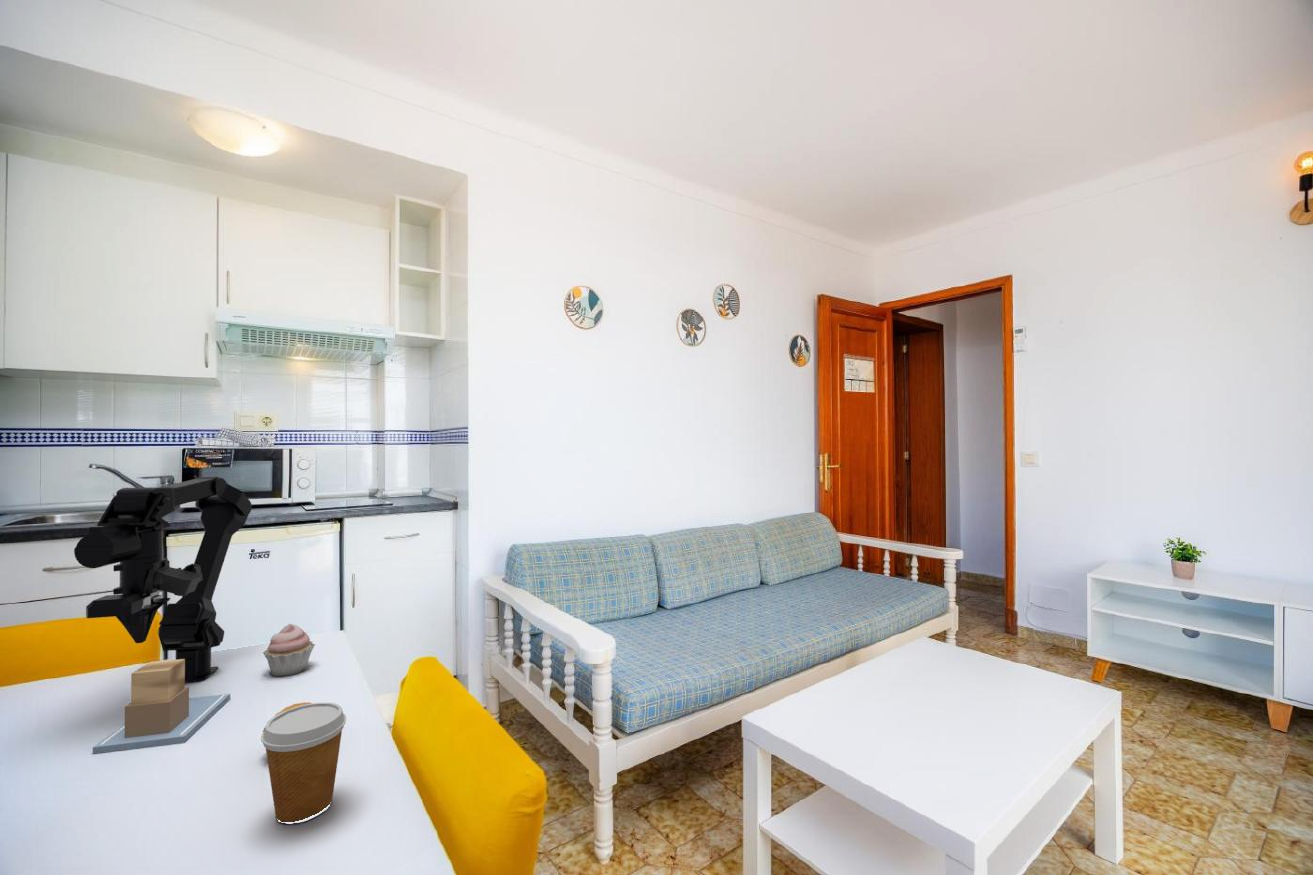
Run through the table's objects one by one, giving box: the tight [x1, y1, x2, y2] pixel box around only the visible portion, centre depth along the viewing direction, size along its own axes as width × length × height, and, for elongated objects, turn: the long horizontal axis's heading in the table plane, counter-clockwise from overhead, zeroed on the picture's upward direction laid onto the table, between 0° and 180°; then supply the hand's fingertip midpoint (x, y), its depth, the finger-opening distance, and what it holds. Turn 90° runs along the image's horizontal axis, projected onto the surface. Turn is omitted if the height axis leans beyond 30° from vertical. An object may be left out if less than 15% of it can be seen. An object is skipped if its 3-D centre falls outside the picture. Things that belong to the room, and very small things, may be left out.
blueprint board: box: [92, 686, 231, 755], centre depth 96 cm, size 16×12×6 cm
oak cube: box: [130, 659, 186, 705], centre depth 94 cm, size 5×5×5 cm
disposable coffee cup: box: [260, 702, 347, 822], centre depth 74 cm, size 10×10×12 cm
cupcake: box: [262, 623, 316, 677], centre depth 119 cm, size 9×9×10 cm
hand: (140, 642), depth 102 cm, fingers closed
